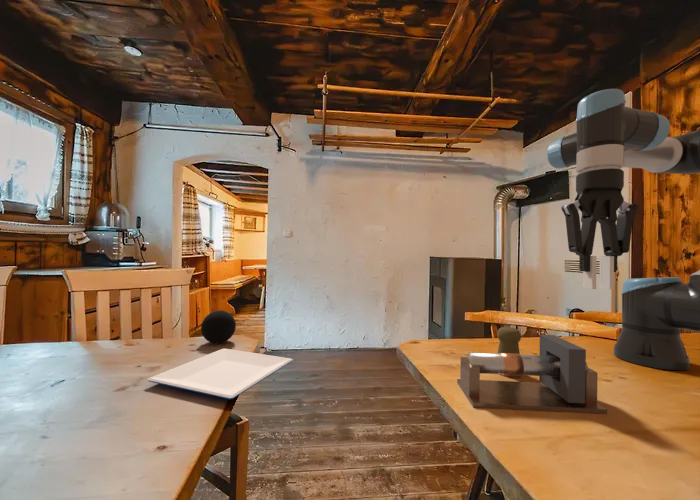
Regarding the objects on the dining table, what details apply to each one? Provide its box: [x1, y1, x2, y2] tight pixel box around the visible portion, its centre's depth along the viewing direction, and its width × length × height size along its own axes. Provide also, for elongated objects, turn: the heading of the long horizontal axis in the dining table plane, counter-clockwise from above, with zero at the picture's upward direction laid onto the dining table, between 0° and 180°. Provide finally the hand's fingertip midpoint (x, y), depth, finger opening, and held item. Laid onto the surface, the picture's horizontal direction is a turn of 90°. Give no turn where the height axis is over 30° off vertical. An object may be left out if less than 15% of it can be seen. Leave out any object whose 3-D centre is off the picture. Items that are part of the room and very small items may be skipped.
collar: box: [538, 334, 587, 403], centre depth 62 cm, size 3×10×10 cm, turn 176°
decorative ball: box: [200, 310, 237, 344], centre depth 96 cm, size 10×10×10 cm
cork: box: [496, 326, 524, 379], centre depth 75 cm, size 6×6×11 cm
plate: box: [146, 348, 294, 400], centre depth 71 cm, size 22×22×2 cm
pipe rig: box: [456, 352, 608, 415], centre depth 63 cm, size 24×11×9 cm, turn 86°
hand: (597, 288), depth 62 cm, fingers open, 3 cm apart
